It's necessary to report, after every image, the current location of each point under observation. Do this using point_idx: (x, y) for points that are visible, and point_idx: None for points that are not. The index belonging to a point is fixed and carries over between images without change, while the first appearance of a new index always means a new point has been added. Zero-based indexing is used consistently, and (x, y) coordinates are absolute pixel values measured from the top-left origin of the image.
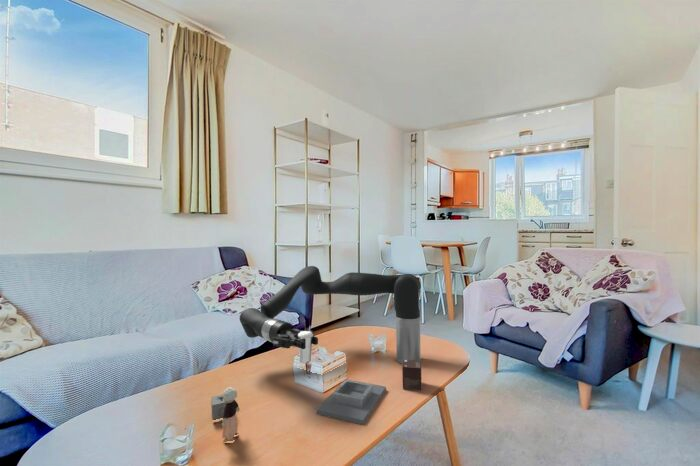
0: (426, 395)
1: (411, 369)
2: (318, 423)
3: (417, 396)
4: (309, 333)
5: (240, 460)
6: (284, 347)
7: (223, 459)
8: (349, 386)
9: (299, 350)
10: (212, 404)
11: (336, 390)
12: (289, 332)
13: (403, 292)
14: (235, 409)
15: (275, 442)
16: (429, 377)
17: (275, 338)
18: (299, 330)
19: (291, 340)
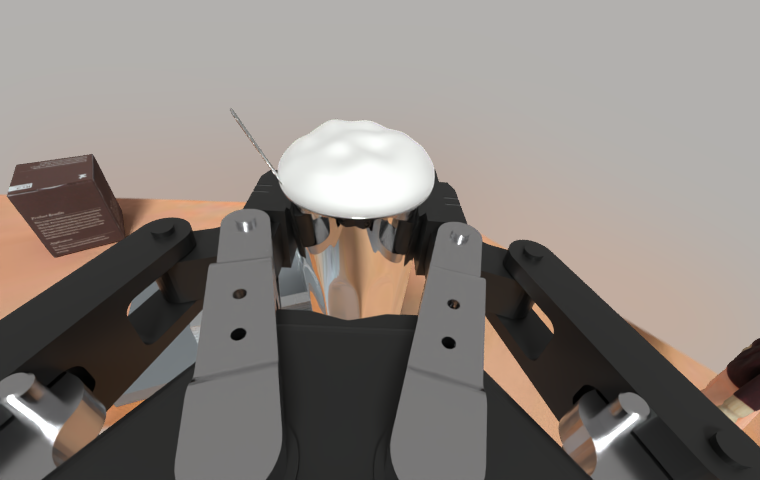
0: (147, 201)
1: (96, 172)
2: (416, 298)
3: (160, 210)
4: (356, 122)
5: (638, 327)
6: (539, 330)
7: (687, 358)
8: None
9: (402, 291)
10: None
11: (296, 298)
12: (432, 371)
13: None
14: (738, 361)
15: (546, 319)
16: (7, 222)
17: (713, 405)
18: (214, 337)
19: (483, 261)
